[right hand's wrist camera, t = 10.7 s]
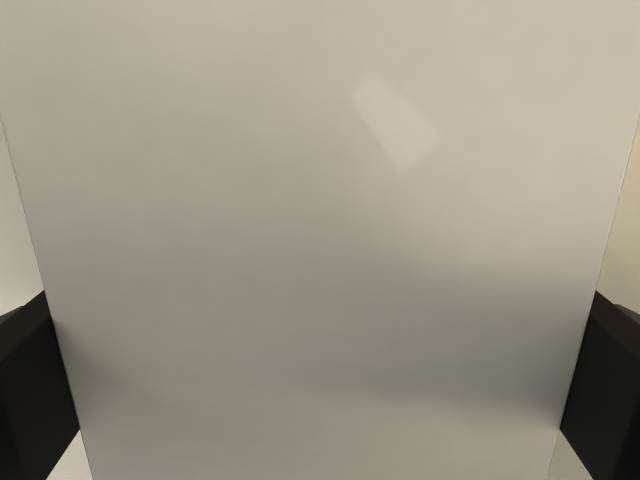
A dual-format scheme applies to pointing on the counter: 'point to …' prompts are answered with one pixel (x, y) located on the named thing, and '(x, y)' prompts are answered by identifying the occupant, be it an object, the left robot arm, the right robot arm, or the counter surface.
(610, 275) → the counter surface
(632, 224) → the counter surface
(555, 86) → the cabinet
